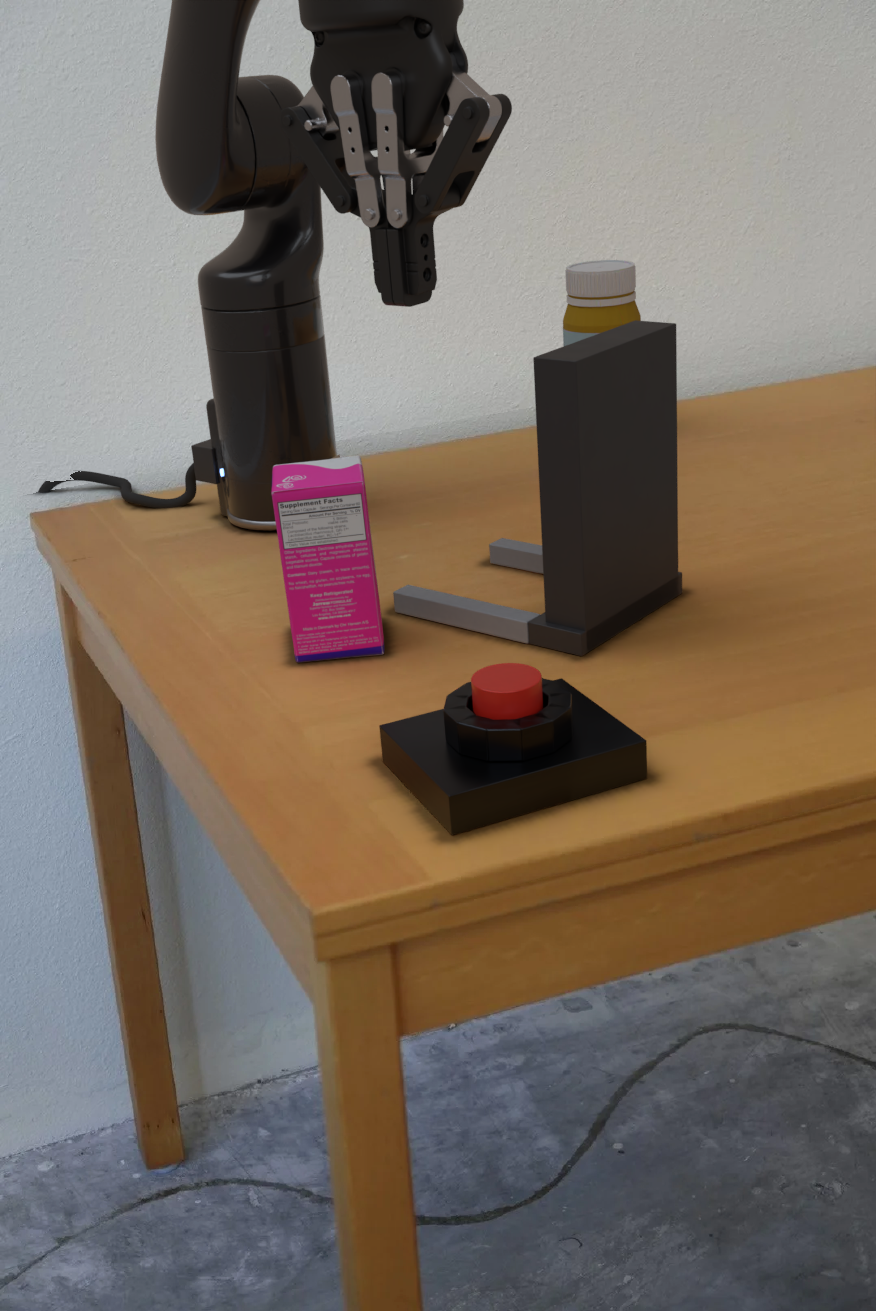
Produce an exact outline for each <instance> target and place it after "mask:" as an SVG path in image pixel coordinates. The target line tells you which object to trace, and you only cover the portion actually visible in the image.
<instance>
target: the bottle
mask: <svg viewBox="0 0 876 1311" xmlns="http://www.w3.org/2000/svg"><path fill="white" fill-rule="evenodd" d="M636 272H637V270H636V264H635V262H633V261H630V260H623V259H599V260H597V259H596V260H587V261H581V262H576V263H575V262H574V263H572V264H569V265H567V266H566V267H565V273H564V274H565V291H566V303H567V305H566V307H565V308H566V309H565V312H564V315H563V319H562V342H563V344H562V345H563V347H564V346H566V345H569V344H572V343H575V342H577V341H580V340H583V339H586V338H588V337H591V336H594V335H597V334H599V333H602V332H605V331H608V330H610V329H613V328H616V327H619V326H621V325H624V324H627V323H630V322H632V321H635V320H636V321H642V318H641V317H642V316H641V312H640V310H639V307H638V305H637V302H636V299H637V298H636V297H637V293H636V292H637V291H636V287H637V286H636V285H637V279H636Z"/></svg>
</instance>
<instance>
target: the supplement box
mask: <svg viewBox="0 0 876 1311" xmlns="http://www.w3.org/2000/svg"><path fill="white" fill-rule="evenodd" d="M272 500H273V507H274V514H275V521H276V528H277V530H276V534H277V541H278V548H279V555H280V556H279V557H280V562H281V568H282V569H281V570H282V577H283V578H282V579H283V584H284V590H285V591H284V592H285V597H286V604H287V611H288V618H289V625H290V632H291V633H290V634H291V638H292V643H293V644H292V645H293V653H294V659H295V662H296V663H307V662H308V663H309V662H318V661H329V660H338V659H346V658H347V659H348V658H358V657H359V658H360V657H369V656H371V657H372V656H382V655H384V654H385V636H384V627H383V618H382V611H381V602H380V593H379V584H378V583H379V582H378V576H377V569H376V568H377V567H376V562H375V561H376V560H375V554H374V545H373V537H372V530H371V522H370V515H369V505H368V498H367V490H366V482H365V473H364V467H363V461H362V457H361V455H350V456H349V455H348V456H342V457H341V456H340V458H334V459H326V460H318V461H309V462H298V463H289V464H280V465H274V466H273V471H272Z"/></svg>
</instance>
